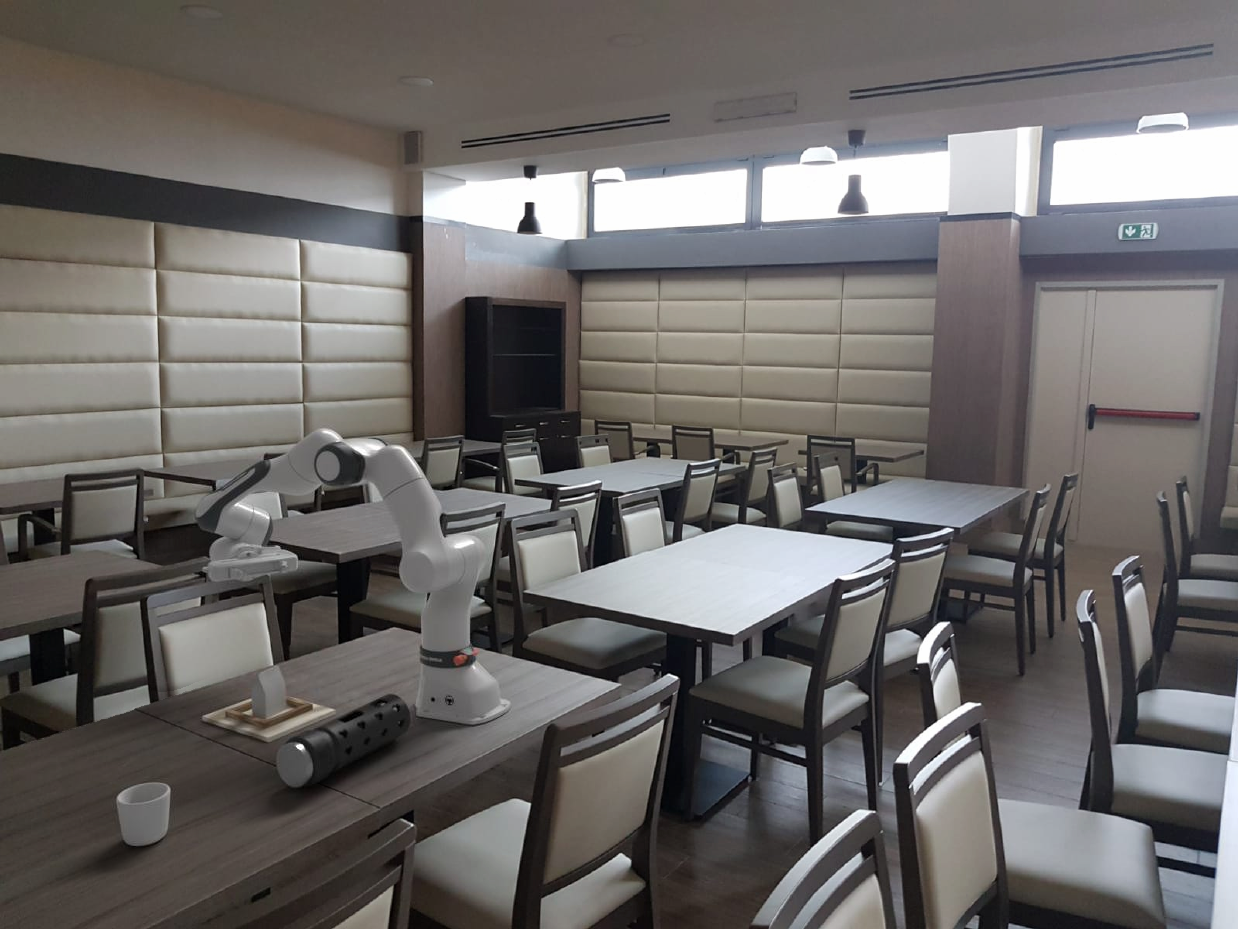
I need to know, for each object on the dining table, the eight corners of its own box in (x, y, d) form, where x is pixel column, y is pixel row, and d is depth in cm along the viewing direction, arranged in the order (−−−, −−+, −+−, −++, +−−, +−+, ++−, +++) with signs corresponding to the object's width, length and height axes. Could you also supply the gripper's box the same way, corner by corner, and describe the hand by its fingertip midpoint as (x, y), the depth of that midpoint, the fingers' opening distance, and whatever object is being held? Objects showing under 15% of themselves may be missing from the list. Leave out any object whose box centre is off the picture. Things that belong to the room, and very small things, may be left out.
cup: (138, 819, 158) (136, 775, 157) (186, 817, 158) (184, 773, 157) (109, 852, 147) (107, 805, 146) (160, 850, 148) (158, 803, 147)
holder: (335, 714, 205) (335, 704, 205) (268, 742, 190) (268, 731, 189) (270, 695, 216) (270, 686, 216) (202, 720, 201) (202, 710, 201)
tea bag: (286, 708, 206) (285, 665, 204) (266, 719, 199) (264, 675, 198) (272, 706, 207) (271, 664, 206) (252, 717, 200) (250, 673, 199)
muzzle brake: (412, 744, 190) (411, 696, 189) (311, 801, 165) (309, 746, 164) (377, 735, 194) (376, 688, 193) (273, 789, 169) (271, 736, 168)
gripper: (199, 555, 216) (217, 565, 206) (284, 544, 229) (306, 553, 219) (200, 581, 217) (219, 592, 206) (285, 569, 230) (307, 579, 220)
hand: (264, 572), depth 213 cm, fingers open, 8 cm apart
